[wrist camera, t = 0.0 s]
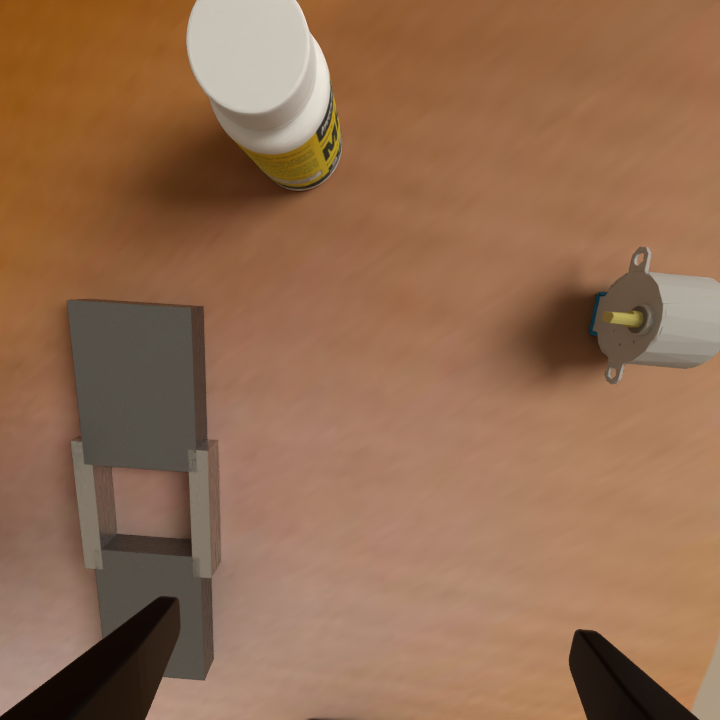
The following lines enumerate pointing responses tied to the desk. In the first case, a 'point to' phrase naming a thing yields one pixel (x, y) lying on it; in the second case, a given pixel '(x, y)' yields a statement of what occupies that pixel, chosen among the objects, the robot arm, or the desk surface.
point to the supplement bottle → (268, 86)
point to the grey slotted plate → (146, 462)
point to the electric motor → (657, 319)
